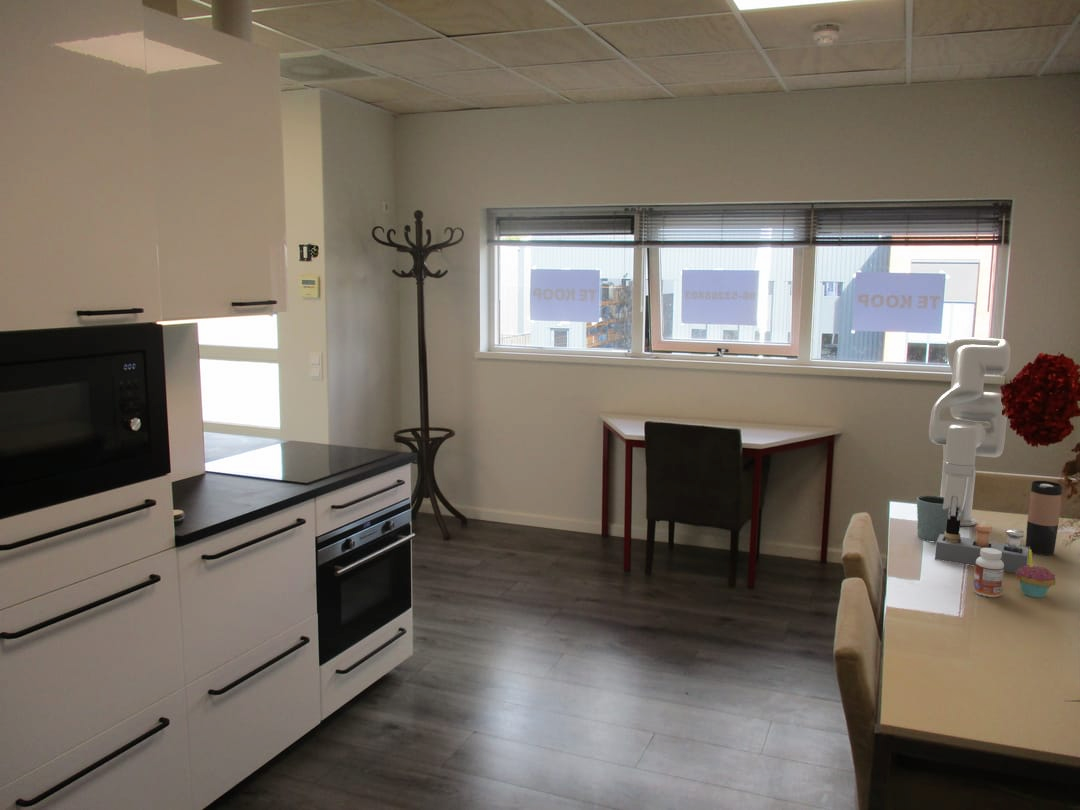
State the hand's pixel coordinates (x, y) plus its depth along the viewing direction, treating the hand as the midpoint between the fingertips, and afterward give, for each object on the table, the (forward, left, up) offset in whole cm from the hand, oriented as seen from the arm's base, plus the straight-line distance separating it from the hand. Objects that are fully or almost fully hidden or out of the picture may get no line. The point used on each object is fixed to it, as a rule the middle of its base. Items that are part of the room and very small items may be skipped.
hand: (952, 533), depth 234 cm
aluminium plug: (0, +15, -3) cm, 15 cm away
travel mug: (-21, +21, -7) cm, 31 cm away
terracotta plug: (0, +7, -3) cm, 8 cm away
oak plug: (0, 0, -6) cm, 6 cm away
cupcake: (+19, +20, -7) cm, 29 cm away
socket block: (0, +7, -7) cm, 10 cm away
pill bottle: (+25, +10, -7) cm, 28 cm away
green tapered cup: (-17, -7, -7) cm, 19 cm away
